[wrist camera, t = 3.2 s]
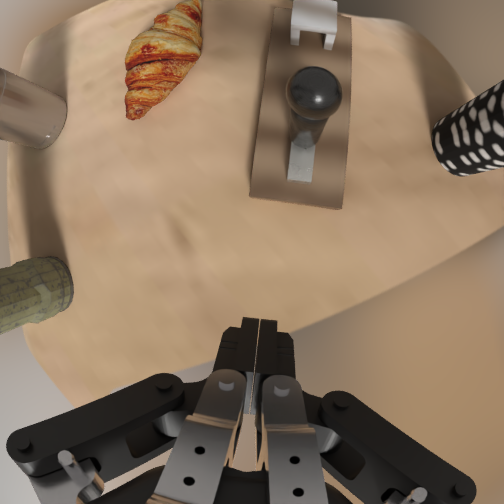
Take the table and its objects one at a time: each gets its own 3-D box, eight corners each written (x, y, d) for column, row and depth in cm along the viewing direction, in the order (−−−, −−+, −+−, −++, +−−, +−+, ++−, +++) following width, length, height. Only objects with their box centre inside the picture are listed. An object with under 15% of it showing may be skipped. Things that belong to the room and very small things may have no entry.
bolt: (316, 185, 31) (343, 158, 17) (279, 180, 31) (277, 148, 17) (325, 85, 30) (348, 11, 16) (290, 80, 30) (293, 2, 16)
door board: (336, 209, 34) (351, 206, 27) (251, 198, 35) (243, 191, 28) (347, 29, 31) (357, -2, 24) (275, 19, 32) (273, -14, 25)
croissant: (188, 16, 37) (155, -9, 30) (236, 4, 31) (201, -29, 25) (133, 128, 39) (89, 109, 32) (176, 130, 34) (125, 105, 27)
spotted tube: (485, 147, 31) (583, 115, 11) (463, 189, 32) (572, 173, 12) (446, 106, 31) (534, 45, 11) (421, 145, 32) (520, 93, 13)
